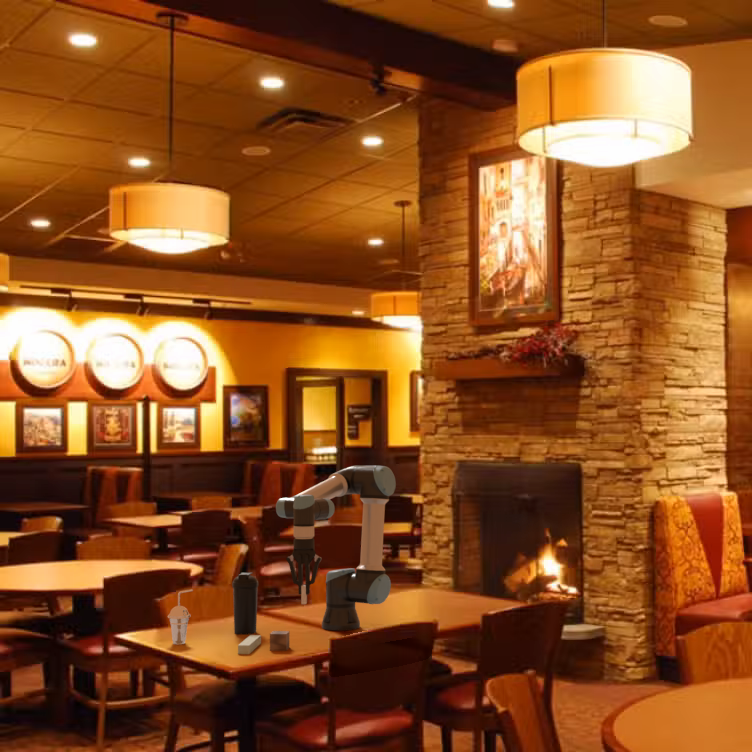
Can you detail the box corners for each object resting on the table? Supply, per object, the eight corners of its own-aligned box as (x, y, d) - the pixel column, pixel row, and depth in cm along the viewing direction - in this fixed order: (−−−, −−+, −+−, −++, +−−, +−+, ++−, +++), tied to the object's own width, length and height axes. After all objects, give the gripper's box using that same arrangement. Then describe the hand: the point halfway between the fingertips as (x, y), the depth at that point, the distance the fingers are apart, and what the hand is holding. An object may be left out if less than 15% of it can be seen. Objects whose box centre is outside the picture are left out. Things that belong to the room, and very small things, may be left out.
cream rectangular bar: (260, 643, 414) (260, 635, 414) (249, 654, 394) (249, 645, 394) (250, 643, 414) (250, 635, 414) (238, 653, 394) (238, 645, 395)
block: (289, 647, 406) (289, 631, 406) (286, 651, 400) (286, 634, 400) (273, 647, 406) (273, 630, 407) (269, 650, 400) (269, 633, 401)
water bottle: (260, 630, 441) (260, 571, 442) (255, 635, 431) (255, 574, 432) (235, 630, 442) (235, 571, 443) (229, 634, 432) (229, 574, 433)
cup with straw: (176, 640, 421) (177, 586, 422) (196, 642, 417) (196, 588, 418) (162, 644, 413) (162, 589, 414) (182, 646, 409) (182, 591, 410)
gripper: (323, 536, 407) (323, 602, 406) (288, 536, 408) (288, 601, 407) (320, 538, 400) (320, 605, 398) (284, 538, 401) (284, 605, 400)
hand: (304, 603), depth 403 cm, fingers closed
